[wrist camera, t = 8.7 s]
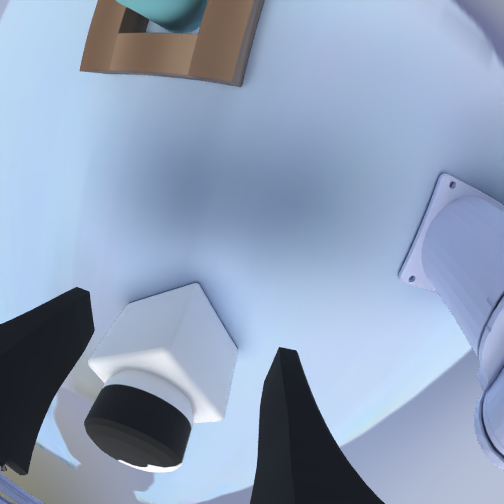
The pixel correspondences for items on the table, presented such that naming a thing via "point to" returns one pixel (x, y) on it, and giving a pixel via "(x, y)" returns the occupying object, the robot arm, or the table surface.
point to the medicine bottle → (160, 378)
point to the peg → (170, 13)
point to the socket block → (173, 43)
